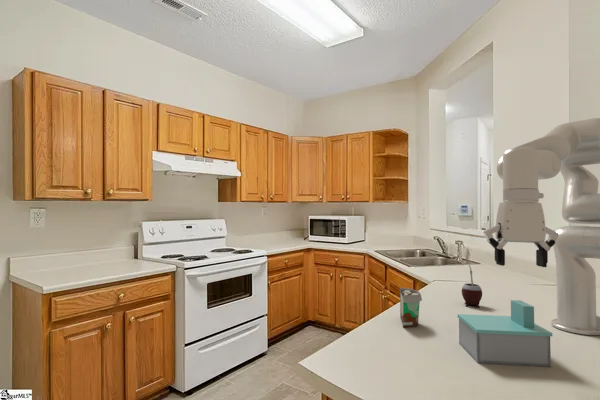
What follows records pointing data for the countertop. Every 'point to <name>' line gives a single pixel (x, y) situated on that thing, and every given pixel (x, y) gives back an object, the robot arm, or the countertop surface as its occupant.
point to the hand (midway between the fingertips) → (520, 265)
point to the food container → (409, 307)
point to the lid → (507, 322)
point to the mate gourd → (471, 293)
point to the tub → (505, 348)
